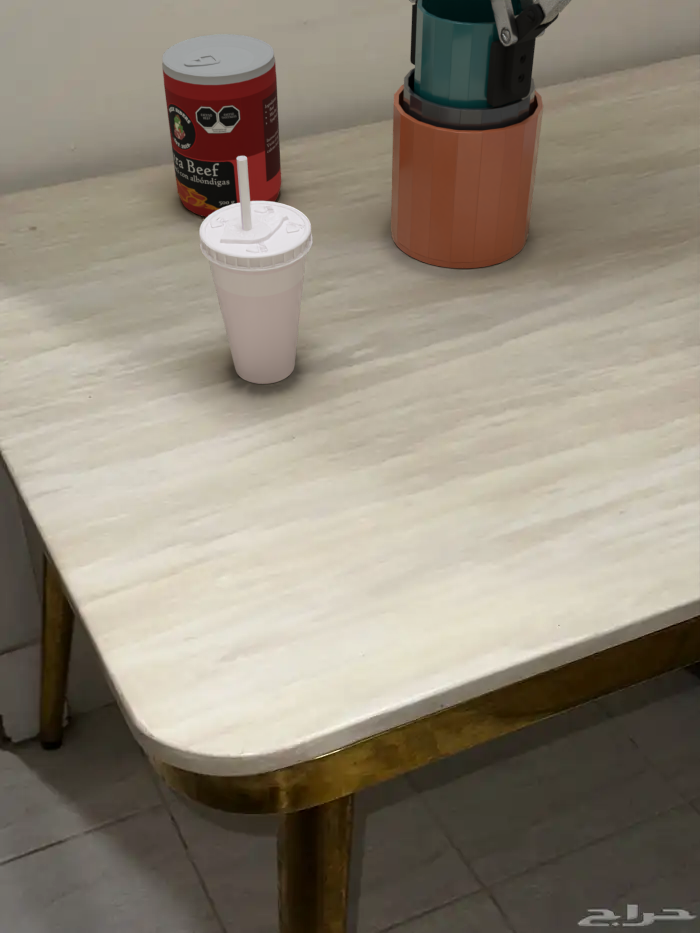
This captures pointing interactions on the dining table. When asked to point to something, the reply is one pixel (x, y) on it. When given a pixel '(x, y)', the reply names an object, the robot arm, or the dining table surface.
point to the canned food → (222, 119)
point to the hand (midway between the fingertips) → (468, 78)
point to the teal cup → (455, 51)
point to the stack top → (465, 111)
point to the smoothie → (258, 279)
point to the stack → (462, 189)
